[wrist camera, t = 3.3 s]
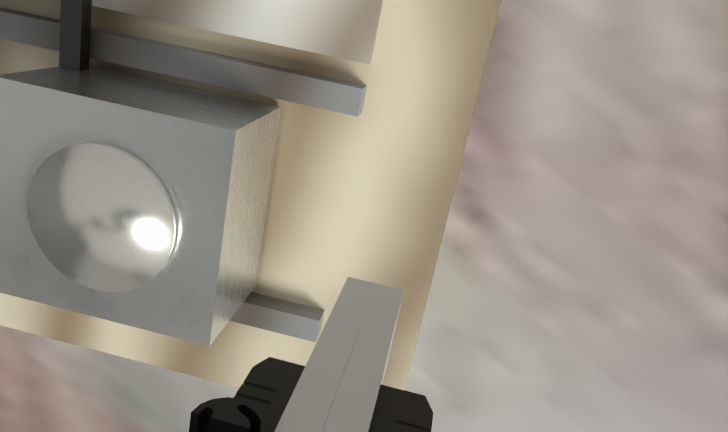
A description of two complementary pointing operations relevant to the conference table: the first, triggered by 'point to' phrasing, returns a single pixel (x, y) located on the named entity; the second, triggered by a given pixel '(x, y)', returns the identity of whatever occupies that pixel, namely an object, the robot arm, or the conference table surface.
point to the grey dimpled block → (131, 192)
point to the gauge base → (296, 153)
